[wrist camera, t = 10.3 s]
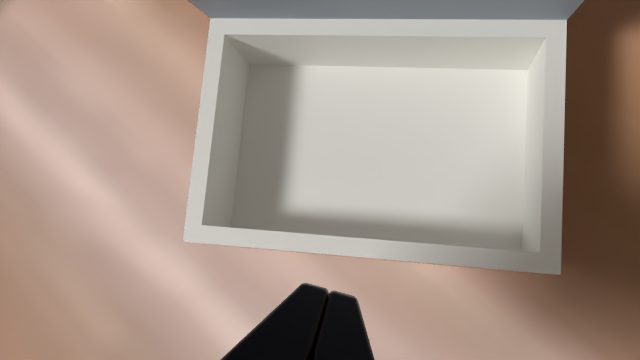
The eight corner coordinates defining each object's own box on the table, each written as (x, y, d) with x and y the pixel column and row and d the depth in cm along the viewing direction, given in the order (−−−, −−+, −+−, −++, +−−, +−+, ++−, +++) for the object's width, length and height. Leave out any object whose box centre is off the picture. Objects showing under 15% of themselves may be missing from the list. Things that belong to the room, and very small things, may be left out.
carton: (535, 273, 19) (560, 274, 16) (219, 245, 21) (182, 241, 18) (541, 61, 20) (567, 19, 17) (241, 55, 23) (210, 18, 19)
